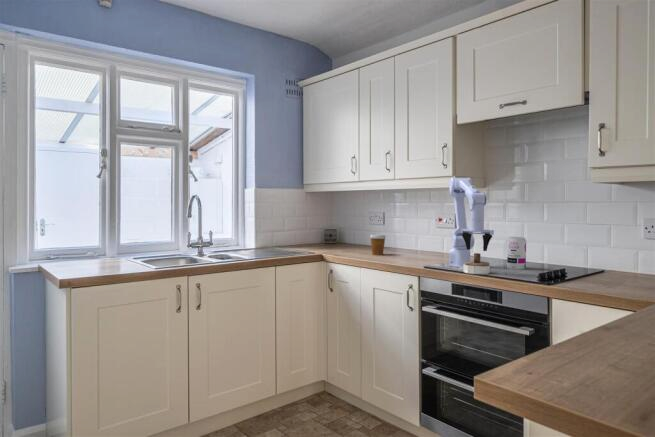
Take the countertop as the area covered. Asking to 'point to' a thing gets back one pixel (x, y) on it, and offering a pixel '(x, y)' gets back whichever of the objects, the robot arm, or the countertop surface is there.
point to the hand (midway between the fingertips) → (476, 250)
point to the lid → (476, 261)
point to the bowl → (476, 269)
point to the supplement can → (516, 253)
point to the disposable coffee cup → (377, 243)
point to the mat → (503, 270)
